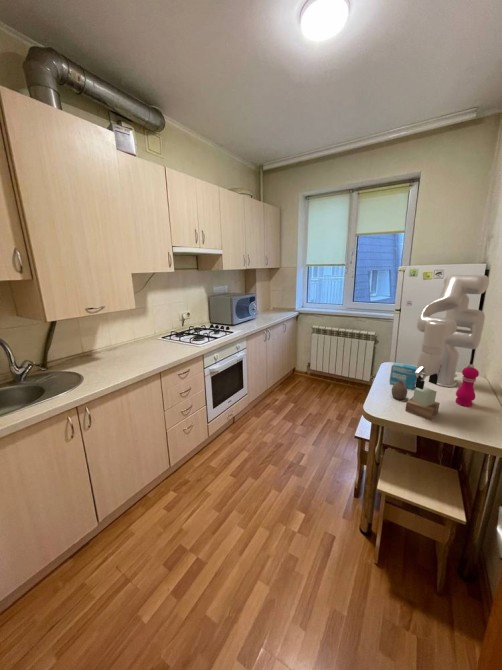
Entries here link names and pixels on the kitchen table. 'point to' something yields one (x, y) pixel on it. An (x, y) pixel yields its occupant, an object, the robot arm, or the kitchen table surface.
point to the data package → (403, 375)
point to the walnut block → (422, 409)
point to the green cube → (424, 396)
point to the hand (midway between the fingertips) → (425, 385)
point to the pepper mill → (467, 387)
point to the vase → (399, 390)
